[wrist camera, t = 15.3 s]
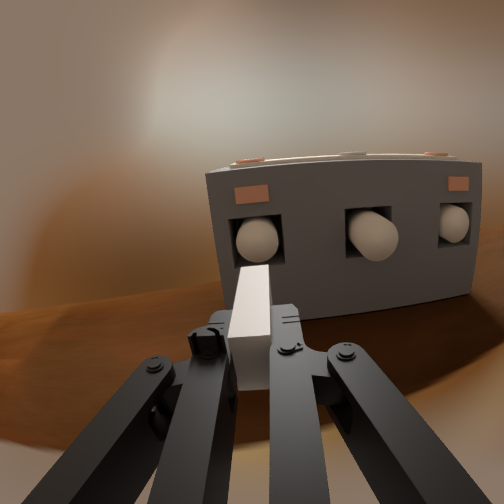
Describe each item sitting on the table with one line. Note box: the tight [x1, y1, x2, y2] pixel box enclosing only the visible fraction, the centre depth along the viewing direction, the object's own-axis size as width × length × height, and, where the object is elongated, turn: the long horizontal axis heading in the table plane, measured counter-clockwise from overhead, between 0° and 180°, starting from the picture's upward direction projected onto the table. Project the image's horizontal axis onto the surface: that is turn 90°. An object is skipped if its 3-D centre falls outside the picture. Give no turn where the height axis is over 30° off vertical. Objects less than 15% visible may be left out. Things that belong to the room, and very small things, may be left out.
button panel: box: [205, 152, 482, 320], centre depth 32 cm, size 30×9×17 cm, turn 88°
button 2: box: [439, 203, 469, 243], centre depth 29 cm, size 4×6×4 cm
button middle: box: [345, 207, 398, 261], centre depth 27 cm, size 4×6×4 cm
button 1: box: [236, 215, 279, 262], centre depth 31 cm, size 4×6×4 cm
